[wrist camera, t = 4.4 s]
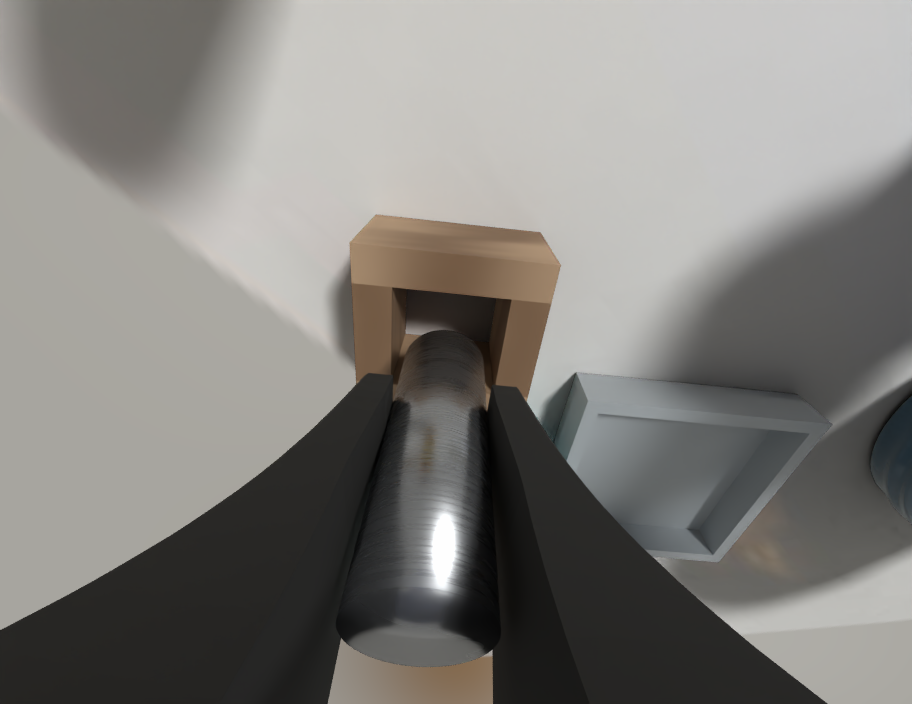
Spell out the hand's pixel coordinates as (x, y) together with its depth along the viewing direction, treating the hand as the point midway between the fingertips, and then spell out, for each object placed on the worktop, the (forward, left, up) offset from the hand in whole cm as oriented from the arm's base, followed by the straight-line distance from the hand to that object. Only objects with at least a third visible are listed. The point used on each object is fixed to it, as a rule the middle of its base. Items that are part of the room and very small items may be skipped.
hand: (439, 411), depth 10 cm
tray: (-11, +8, -7) cm, 15 cm away
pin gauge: (0, 0, -2) cm, 2 cm away
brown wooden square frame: (0, 0, -7) cm, 7 cm away
